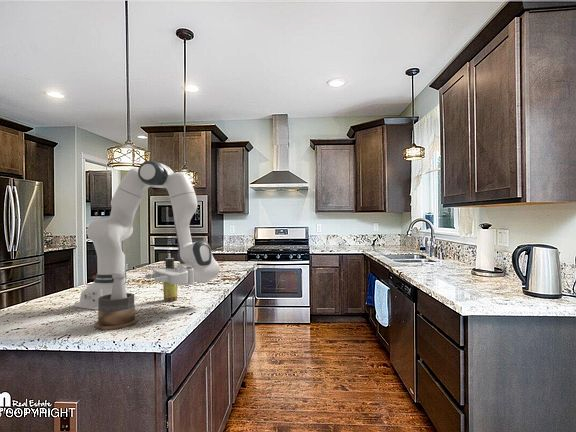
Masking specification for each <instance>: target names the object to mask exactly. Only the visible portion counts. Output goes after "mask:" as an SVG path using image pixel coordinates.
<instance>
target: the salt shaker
mask: <svg viewBox="0 0 576 432" xmlns="http://www.w3.org/2000/svg"><path fill="white" fill-rule="evenodd" d="M112 278H113V279H114V282H113V288H112V293H111V298H110V300H114V299H123V298H127V295H126V292H127V289H126V290H125V284H124V279H123V278H125V273H124V272H122V271H118V272H114V273H113V274H112Z"/></svg>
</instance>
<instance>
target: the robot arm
mask: <svg viewBox="0 0 576 432" xmlns="http://www.w3.org/2000/svg"><path fill="white" fill-rule="evenodd" d="M151 187H153V188H155V189H165V190H167V193H168V196H169V199H170V202H171V203H170V204H171V207H172V213H173V222H174V223H173V224H174V230H175V235H176V239H177V241H176V242H177V247H178V248H177V260H178V263H179V264H177V265H176V266H174V269H166V268H160V269H157V268H156V269H153V271H152V272H151V273H146V274H145V275H144V277H145V280H150V279H154V282H155V283H163V282H167V283H171V284H177V285H179V286H186V285H187V286H190V285H194V283H204V282H210V281H212V280H214V279H216V278H217V277H218V275H219V274H220V265H219V263H218V261H217V260H216V259H215V258H214V256H213V252H212V247H211V245H210V244H209V243H208V242H207V241H205V240H203V239H202V240H201V239H200V240H199V239H198V240H196V241H194V242H193V240H192V235H191V234H192V233H191V230H190V224H191V220H192V218H193V216H194V214H196V211H197V209H198V197H197V195H196V191H195V189H194V186H193V183H192V181H191V179H190V177H189V175H188V174H186V173H185V172H181V171H177V172H176V171H175V170H174V169H173V168H171V167H169V166H168V165H166V164H164V163H162V162H161V163H160V162H158V161H155V160H146V161H144V162H142V163H141V164H140V165H139V167H138V168H130V169H129V170H128V171H127V172H126V174H125V175H124V176H123V177H122V179H121V181H120V183H119V185H118V186H117V188H116V190H115V192H114V194H113V197H112V198H111V201H110V206H111V210H110V214H109V216H108V217H103V218H98V219H95V220H93V221H91V222H89V224H88V225H87V229H86V235H87V236H88V238H89V239H90V240H91V242H92V243H93V246H94V250H95V253H96V262H97V266H96V267H97V273H96V274H95V275H92V276H91V277H92V279H94V280H93V283H91V284H90V285H88V286H87V288H85V289H83V290H82V292H80V297H79V301H77V302H75V303H73V307H74V308H79V309H80V308H82V309H87V310H96V311H98V299H99V298H100V297H101V296H105V295H109V294H111V293H112V288H113V282H114V279H113V278H112V274H113V273H114V272H118V271H122V272H124V273H125V278H123V279H124V284H125V290H126V293H128V292H127V285H126V282H127V272H126V254H125V253H124V252H123V250H122V247H121V242H123V241H125V240H127V239H129V238H130V237H132V235H133V231H134V227H133V224H134V219H135V216H136V212H137V210H138V208H139V206H140V204H141V203H142V199H143V197H144V195H145V194H146V191H147V190H148V189H149V188H151Z"/></svg>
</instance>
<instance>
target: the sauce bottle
mask: <svg viewBox="0 0 576 432" xmlns="http://www.w3.org/2000/svg"><path fill="white" fill-rule="evenodd" d="M164 262H165V269H174V268H175V258H174V257H167V258H165V260H164ZM162 283H163V284H162V287H163V289H162V291H163V301H164V302H174V301H176V300H178V284H171V283H167V282H162Z"/></svg>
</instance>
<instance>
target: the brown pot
mask: <svg viewBox="0 0 576 432" xmlns="http://www.w3.org/2000/svg"><path fill="white" fill-rule="evenodd" d="M126 295H127V298H123V299H114V300H110V298H111V294H109V295H105V296H101V297H100V298H99V299H98V310H97V321H96V322H95V323H94V329H96V330H99V331H113V330H114V331H115V330H122V329H124V328H125V329H127V328H130V327H132V326H135V325H136V324H137V323H138V322H139V319H138V317H137V316H136V305H135V294H134V293H131V292H127V293H126Z"/></svg>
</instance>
